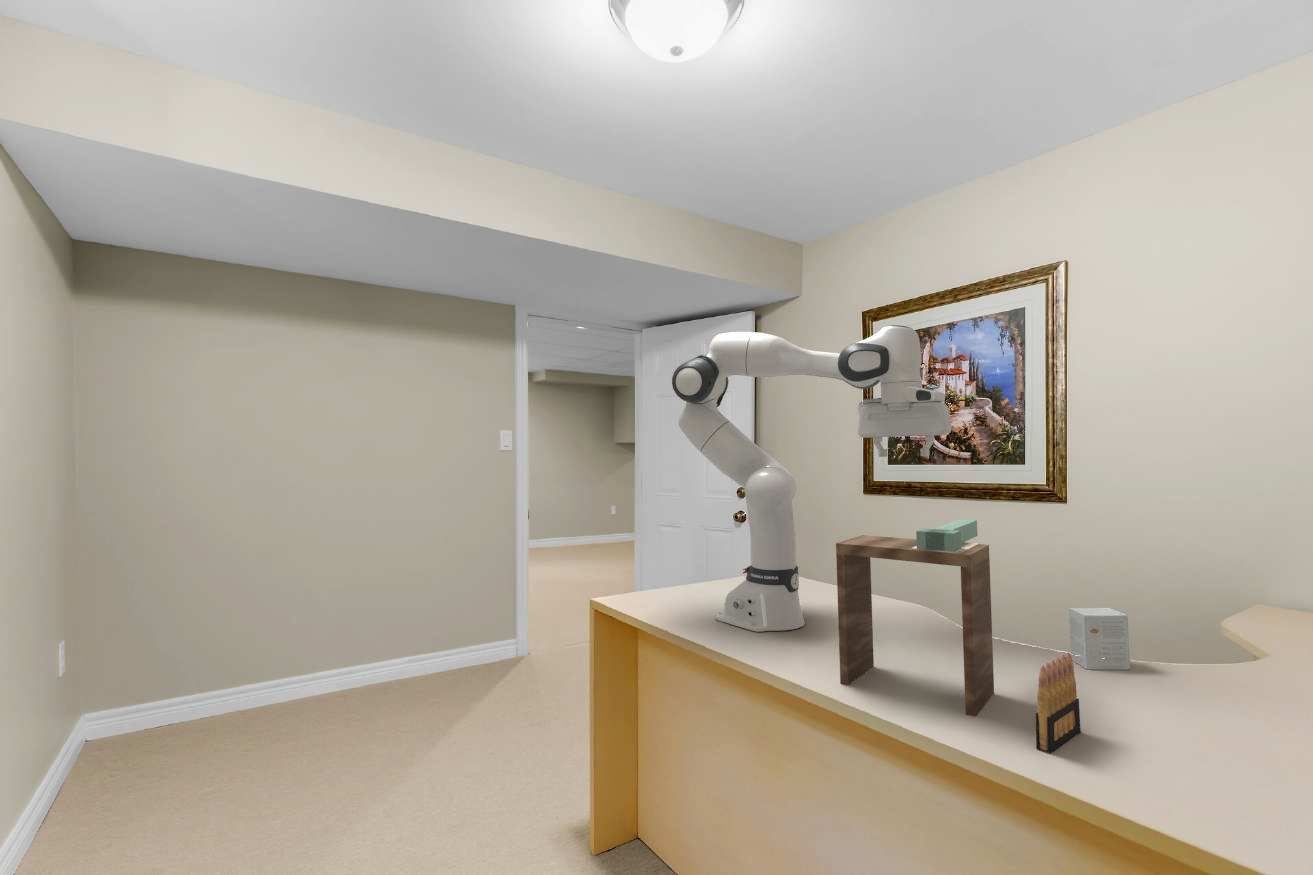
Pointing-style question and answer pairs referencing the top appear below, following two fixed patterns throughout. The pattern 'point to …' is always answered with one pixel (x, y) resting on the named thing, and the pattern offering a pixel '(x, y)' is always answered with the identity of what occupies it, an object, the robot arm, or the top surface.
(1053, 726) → the ammunition clip
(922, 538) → the sage lever
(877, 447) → the robot arm
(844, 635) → the walnut shelf
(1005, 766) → the top surface
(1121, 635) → the small box
